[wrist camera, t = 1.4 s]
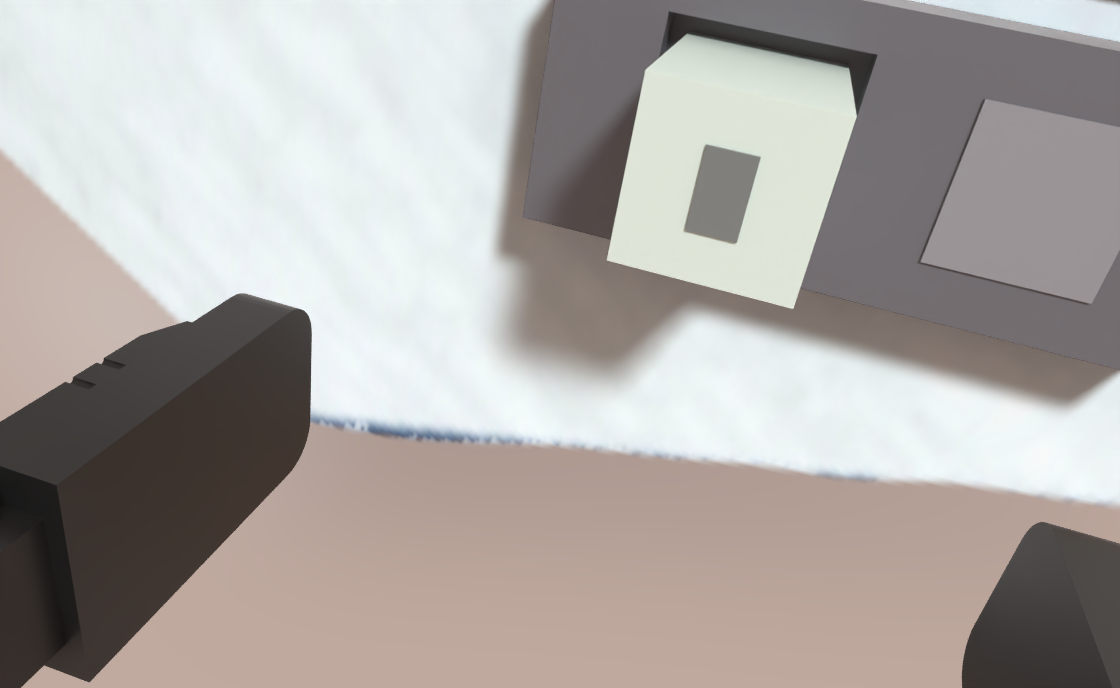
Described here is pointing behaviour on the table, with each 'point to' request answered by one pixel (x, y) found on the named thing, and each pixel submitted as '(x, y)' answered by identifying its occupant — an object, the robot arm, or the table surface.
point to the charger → (732, 166)
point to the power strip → (890, 155)
